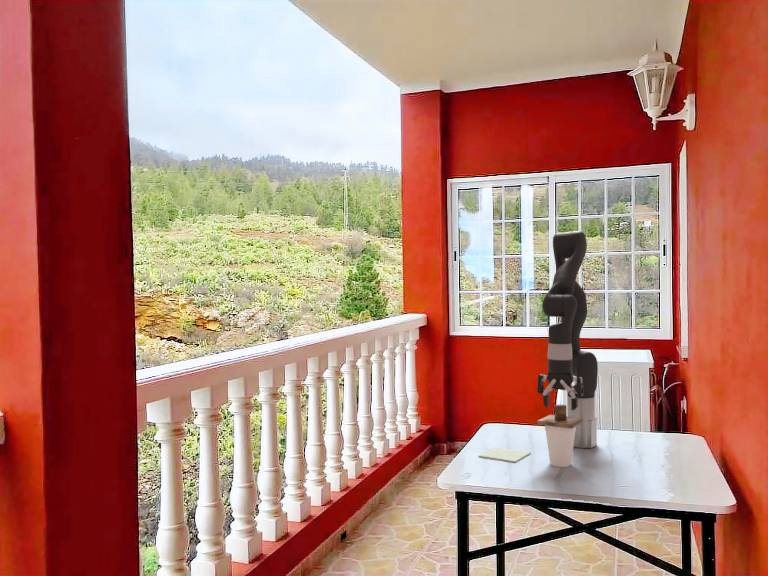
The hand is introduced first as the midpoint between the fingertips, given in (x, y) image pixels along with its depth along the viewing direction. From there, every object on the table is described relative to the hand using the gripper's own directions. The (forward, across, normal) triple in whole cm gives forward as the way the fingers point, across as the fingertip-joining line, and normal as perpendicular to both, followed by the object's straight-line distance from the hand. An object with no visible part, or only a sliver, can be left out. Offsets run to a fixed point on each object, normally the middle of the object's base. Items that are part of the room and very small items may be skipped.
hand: (560, 408), depth 210 cm
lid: (+5, 0, 0) cm, 5 cm away
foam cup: (+18, 0, 0) cm, 18 cm away
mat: (+18, +19, 0) cm, 26 cm away
